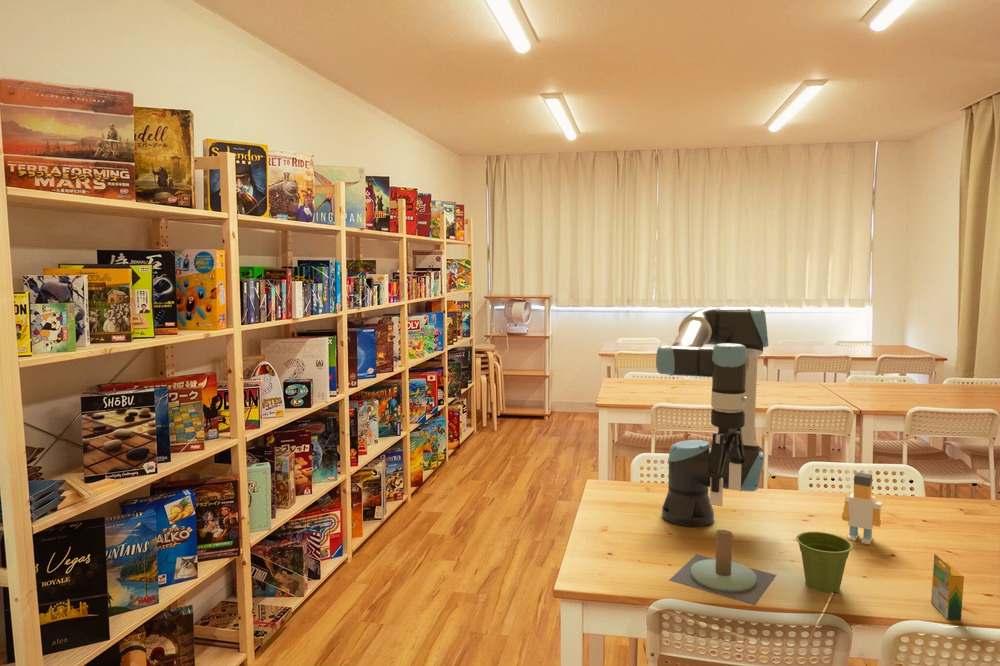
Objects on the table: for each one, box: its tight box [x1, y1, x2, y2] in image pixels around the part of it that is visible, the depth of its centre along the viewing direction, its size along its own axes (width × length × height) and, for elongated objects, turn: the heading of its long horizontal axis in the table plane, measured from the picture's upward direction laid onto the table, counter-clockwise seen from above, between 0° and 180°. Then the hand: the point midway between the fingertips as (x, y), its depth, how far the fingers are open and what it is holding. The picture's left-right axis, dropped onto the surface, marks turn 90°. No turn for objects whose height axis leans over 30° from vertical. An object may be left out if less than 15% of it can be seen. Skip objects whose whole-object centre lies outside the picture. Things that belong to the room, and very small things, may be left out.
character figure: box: [841, 471, 883, 545], centre depth 183 cm, size 8×10×18 cm
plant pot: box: [795, 531, 854, 594], centre depth 155 cm, size 12×12×11 cm
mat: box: [669, 553, 777, 606], centre depth 159 cm, size 20×18×1 cm
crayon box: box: [930, 553, 965, 621], centre depth 143 cm, size 7×3×12 cm, turn 170°
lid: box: [691, 529, 757, 592], centre depth 159 cm, size 15×15×11 cm
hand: (725, 497), depth 157 cm, fingers open, 13 cm apart
